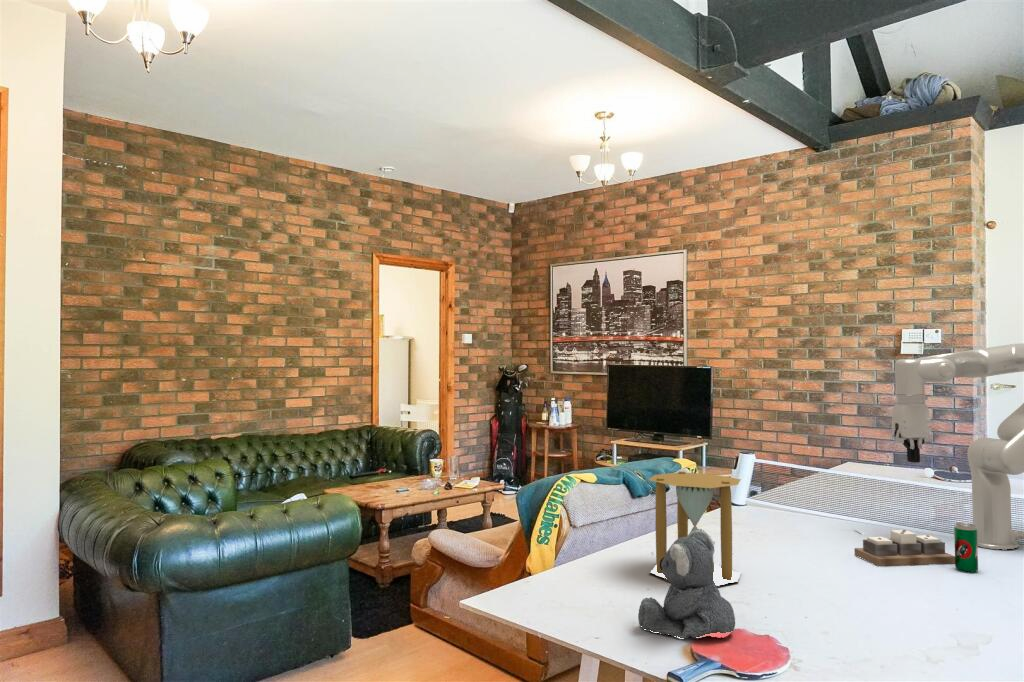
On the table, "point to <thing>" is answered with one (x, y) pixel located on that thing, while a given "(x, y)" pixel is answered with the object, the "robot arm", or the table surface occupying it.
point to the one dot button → (879, 540)
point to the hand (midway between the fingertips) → (913, 461)
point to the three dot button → (903, 536)
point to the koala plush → (689, 592)
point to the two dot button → (927, 539)
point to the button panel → (905, 553)
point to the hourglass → (694, 510)
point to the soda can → (966, 547)
